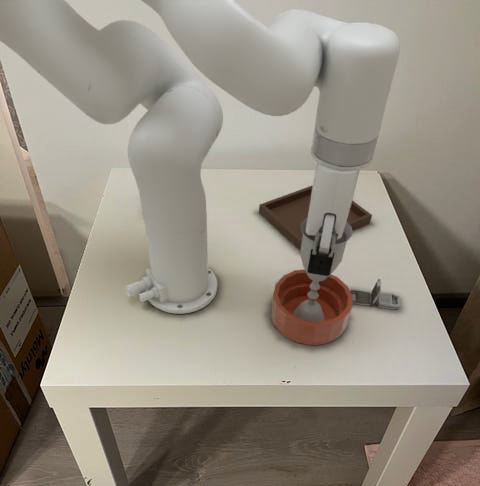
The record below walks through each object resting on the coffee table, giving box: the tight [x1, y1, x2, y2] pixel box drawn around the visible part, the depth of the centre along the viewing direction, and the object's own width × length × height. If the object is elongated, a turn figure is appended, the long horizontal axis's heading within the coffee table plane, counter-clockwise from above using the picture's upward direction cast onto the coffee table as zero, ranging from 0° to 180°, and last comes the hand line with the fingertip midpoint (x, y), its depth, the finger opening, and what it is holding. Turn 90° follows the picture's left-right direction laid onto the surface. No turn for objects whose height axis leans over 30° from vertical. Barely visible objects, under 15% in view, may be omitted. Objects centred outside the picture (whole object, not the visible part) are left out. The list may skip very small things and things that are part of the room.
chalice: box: [294, 217, 354, 322], centre depth 75 cm, size 7×7×18 cm
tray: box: [258, 184, 373, 251], centre depth 99 cm, size 18×15×2 cm
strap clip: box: [350, 278, 401, 310], centre depth 83 cm, size 8×3×4 cm, turn 80°
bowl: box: [270, 269, 354, 346], centre depth 80 cm, size 13×13×5 cm
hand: (321, 256), depth 72 cm, fingers closed on chalice, 6 cm apart
